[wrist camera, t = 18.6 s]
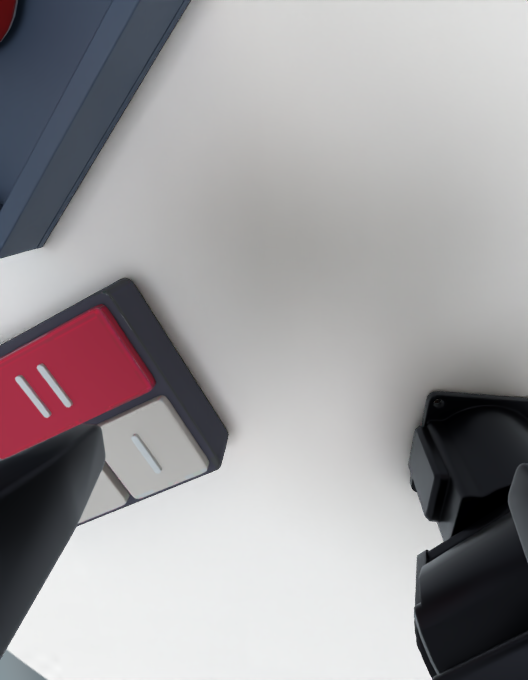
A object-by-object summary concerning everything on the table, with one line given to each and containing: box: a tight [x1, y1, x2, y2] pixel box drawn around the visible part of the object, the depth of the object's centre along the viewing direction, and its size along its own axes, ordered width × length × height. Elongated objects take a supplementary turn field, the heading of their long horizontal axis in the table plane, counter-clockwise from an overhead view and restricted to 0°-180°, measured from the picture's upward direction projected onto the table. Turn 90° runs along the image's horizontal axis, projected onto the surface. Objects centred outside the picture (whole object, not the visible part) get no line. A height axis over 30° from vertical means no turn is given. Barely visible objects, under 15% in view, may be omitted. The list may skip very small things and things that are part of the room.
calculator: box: [0, 278, 228, 526], centre depth 23 cm, size 11×4×15 cm
